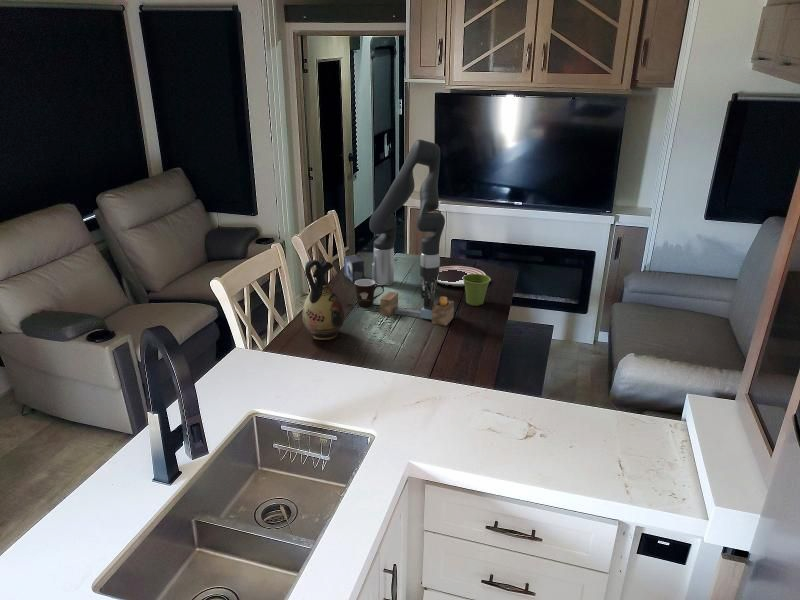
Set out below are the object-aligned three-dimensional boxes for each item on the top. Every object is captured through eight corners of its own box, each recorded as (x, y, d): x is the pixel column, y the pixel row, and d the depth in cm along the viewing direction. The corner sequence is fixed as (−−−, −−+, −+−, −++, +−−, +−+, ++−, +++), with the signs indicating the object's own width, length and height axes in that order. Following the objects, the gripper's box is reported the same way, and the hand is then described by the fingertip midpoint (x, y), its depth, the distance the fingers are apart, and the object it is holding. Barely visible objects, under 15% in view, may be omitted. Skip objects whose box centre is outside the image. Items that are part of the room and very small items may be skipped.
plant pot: (467, 309, 245) (468, 284, 240) (457, 299, 255) (458, 274, 251) (493, 306, 248) (495, 281, 243) (482, 296, 258) (484, 272, 254)
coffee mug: (351, 306, 247) (350, 283, 244) (361, 299, 254) (361, 277, 251) (375, 311, 242) (374, 288, 239) (385, 304, 249) (385, 282, 246)
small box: (343, 277, 282) (342, 256, 278) (355, 275, 284) (355, 254, 281) (352, 283, 273) (351, 262, 269) (365, 281, 276) (364, 260, 272)
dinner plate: (417, 275, 285) (417, 268, 284) (466, 268, 296) (466, 261, 294) (445, 294, 262) (445, 287, 260) (496, 285, 272) (497, 278, 271)
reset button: (438, 306, 231) (438, 298, 230) (440, 304, 234) (441, 296, 232) (445, 308, 230) (445, 299, 229) (447, 305, 233) (448, 297, 231)
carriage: (420, 317, 235) (420, 292, 231) (424, 313, 239) (425, 288, 235) (432, 319, 233) (433, 294, 229) (436, 314, 237) (437, 290, 233)
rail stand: (380, 314, 239) (380, 298, 236) (389, 307, 247) (389, 291, 244) (446, 325, 229) (447, 309, 226) (453, 317, 237) (453, 301, 234)
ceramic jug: (324, 323, 231) (321, 250, 220) (353, 334, 222) (351, 258, 211) (291, 337, 219) (286, 260, 208) (320, 349, 210) (316, 269, 198)
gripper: (426, 257, 235) (425, 297, 241) (414, 268, 223) (413, 309, 229) (444, 259, 233) (443, 300, 239) (432, 270, 220) (431, 312, 227)
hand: (428, 304), depth 234 cm, fingers open, 4 cm apart
